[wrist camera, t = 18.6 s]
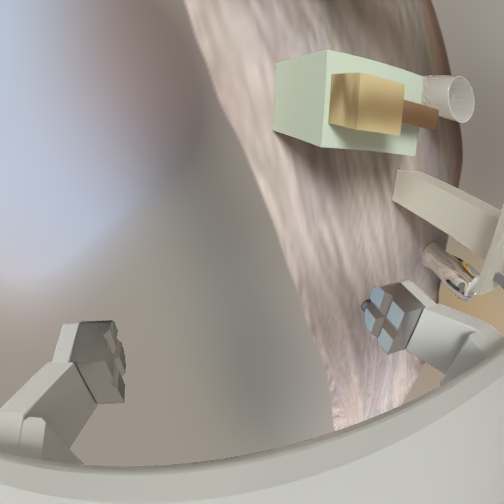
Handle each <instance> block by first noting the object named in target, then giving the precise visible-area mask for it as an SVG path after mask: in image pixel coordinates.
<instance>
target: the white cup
mask: <svg viewBox="0 0 504 504" xmlns="http://www.w3.org/2000/svg"><path fill="white" fill-rule="evenodd" d="M421 105H425V106H428V107H431V108H434V109H437V110H439V115H438V116H440V117H443V118H447V119H450V120H453V121H457V122H460V123H465V122H467V121H468V120H469V119H470V118H471V116H472V114H473V111H474V106H475V98H474V92H473V89H472V87H471V85H470V83H469V82H468V80H467V79H466V78H464V77H461V76H450V75H428V76H423V87H422V101H421Z"/></svg>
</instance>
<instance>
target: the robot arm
mask: <svg viewBox="0 0 504 504" xmlns="http://www.w3.org/2000/svg"><path fill="white" fill-rule="evenodd" d="M369 298H370V300H371V302H370V304H369V305H368V306H367V307H366V310H365V314H364V320H365V325H366V327H367V329H368V331H369V332H370V333H371V334H373V335H375V336H377V342H378V344H379V345H380V346H381V347H382V349H383V350H384V351H385V353H386V354H387V355H388V354H391V353H394V352H397V351H400V350H404V349H406V351H408V352H410V353H411V354H413V355H415V356H416V357H418V358H419V359H421V360H423V361H424V362H426V363H428V364H429V365H431V366H433V367H434V368H436V369H438V370H439V371H441V372H442V373H444V374H445V376H444V378H443V379H442V381H441V382H440V387H438V388H436V389H434V390H432V391H430V392H428V393H426V394H424V395H422V396H420V397H418V398H416V399H414V400H412V401H410V402H408V403H405V404H403V405H401V406H399V407H397V408H394V409H392V410H390V411H387V412H385V413H383V414H380V415H378V416H375V417H373V418H370V419H368V420H365V421H363V422H360V423H357V424H355V425H352V426H349V427H346V428H343V429H341V430H338V431H335V432H332V433H329V434H325V435H322V436H319V437H316V438H313V439H309V440H305V441H302V442H298V443H295V444H291V445H287V446H283V447H279V448H275V449H270V450H266V451H261V452H256V453H251V454H246V455H241V456H235V457H230V458H223V459H216V460H209V461H201V462H192V463H182V464H171V465H155V466H154V465H153V466H98V465H84V463H83V462H82V461H81V460H80V459H79V458H78V457H77V456H76V455H75V454H74V453H73V452H72V451H71V450H70V447H71V446H72V444H73V442H74V441H75V439H76V438H77V436H78V434H79V433H80V431H81V430H82V428H83V427H84V425H85V424H86V422H87V421H88V419H89V418H90V416H91V415H92V413H93V412H94V410H95V409H96V407H97V404H113V403H114V404H115V403H124V394H125V384H124V381H123V379H122V376H123V375H124V374H125V369H126V364H125V355H124V350H123V346H122V343H121V342H120V341H119V340H118V339H117V331H118V330H117V328H116V325H115V322H114V321H112V320H107V321H82V322H66V323H65V324H64V325H63V327H62V330H61V333H60V337H59V340H58V343H57V347H56V350H55V354H54V357H53V361H52V363H47V364H46V365H45V366H43V368H41V369H40V371H38V372H37V373H36V374H35V375H34V376H33V377H32V378H31V379H30V380H29V381H28V382H27V383H26V384H25V385H24V386H23V387H22V388H21V389H20V390H19V391H18V392H17V393H16V394H15V395H14V396H13V397H12V398H11V399H10V400H9V401H8V402H7V403H6V404H5V405H4V406H3V407H2V408H1V409H0V504H504V338H503V337H502V336H501V335H500V334H499V333H498V332H497V331H496V330H495V329H494V328H493V327H492V326H491V325H490V324H489V323H486V322H484V321H481V320H479V319H477V318H474V317H472V316H469V315H467V314H464V313H462V312H459V311H457V310H454V309H452V308H449V307H446V306H444V305H442V304H436V303H435V302H434V301H433V300H431V299H430V298H429V297H428V296H427V295H426V294H425V293H424V292H423V291H422V290H421V289H420V288H418V287H417V286H416V285H415V284H414V283H413V282H412V281H409V280H404V281H400V282H396V283H392V284H387V285H382V286H377V287H374V288H373V289H372V291H371V293H370V296H369Z"/></svg>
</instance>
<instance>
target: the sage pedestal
mask: <svg viewBox="0 0 504 504" xmlns="http://www.w3.org/2000/svg"><path fill="white" fill-rule="evenodd" d="M341 73H365V74H369V75H373V76H377V77H381V78H384V79H388V80H392V81H395V82H399V83H402V84H405V89H404V100H407V101H411V102H414V103H418V104H421V101H422V87H423V76H420V75H417V74H415V73H412V72H409V71H406V70H403V69H400V68H397V67H394V66H391V65H387V64H384V63H381V62H377V61H374V60H370V59H366V58H362V57H359V56H355V55H350V54H346V53H342V52H337V51H332V50H322V51H318V52H314V53H310V54H306V55H302V56H299V57H295V58H291V59H288V60H284V61H281V62H278V63H276V68H275V91H274V113H273V131H276V132H279V133H282V134H285V135H288V136H291V137H294V138H297V139H300V140H303V141H305V142H308V143H311V144H314V145H316V146H319V147H325V148H340V149H353V150H365V151H375V152H384V153H393V154H401V155H409V156H415V154H416V147H417V139H418V131H419V127H418V126H414V125H410V124H405V123H401V132H400V136H396V135H390V134H384V133H377V132H370V131H363V130H356V129H352V128H347V127H343V126H339V125H335V124H330V123H328V117H329V103H330V88H331V74H341Z"/></svg>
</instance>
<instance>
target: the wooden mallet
mask: <svg viewBox="0 0 504 504" xmlns="http://www.w3.org/2000/svg"><path fill="white" fill-rule="evenodd" d="M404 89H405V84H402V83H399V82H395V81H392V80H388V79H384V78H381V77H377V76H373V75H369V74H365V73H341V74H331V88H330V103H329V117H328V123H330V124H335V125H339V126H343V127H347V128H352V129H356V130H363V131H370V132H377V133H384V134H390V135H396V136H400V132H401V123H405V124H410V125H414V126H418V127H423V128H427V129H431V130H435V131H437V125H438V115H439V110H437V109H434V108H431V107H428V106H425V105H421V104H418V103H414V102H411V101H407V100H404Z"/></svg>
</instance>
